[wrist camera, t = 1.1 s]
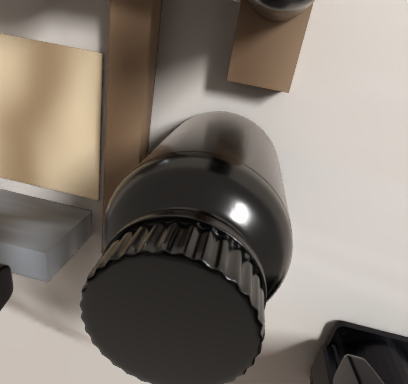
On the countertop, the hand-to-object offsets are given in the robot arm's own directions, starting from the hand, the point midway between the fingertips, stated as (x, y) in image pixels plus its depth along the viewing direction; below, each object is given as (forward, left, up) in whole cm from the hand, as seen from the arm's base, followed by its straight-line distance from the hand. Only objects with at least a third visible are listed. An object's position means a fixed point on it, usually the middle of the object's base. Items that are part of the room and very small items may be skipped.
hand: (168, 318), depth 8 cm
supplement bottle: (0, 0, -12) cm, 12 cm away
